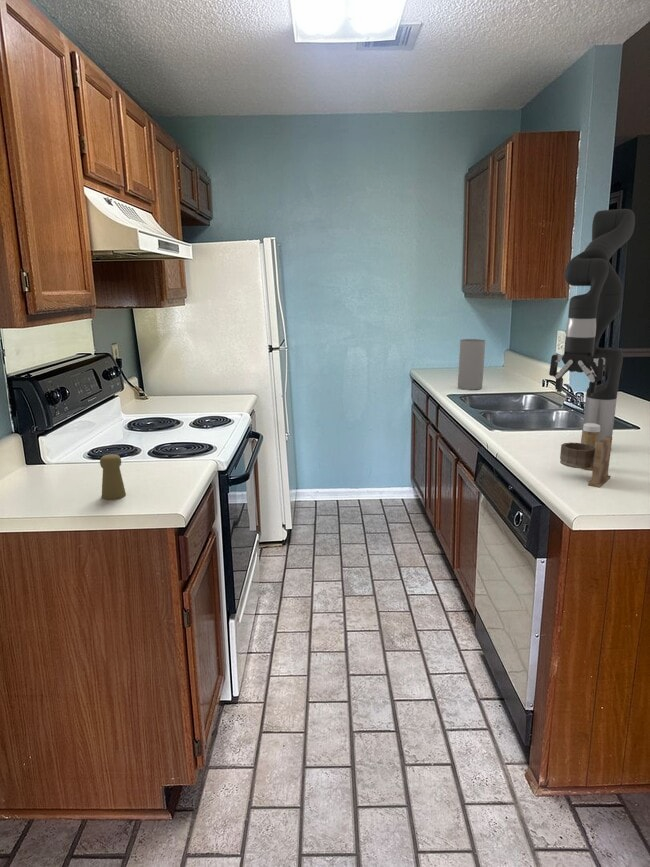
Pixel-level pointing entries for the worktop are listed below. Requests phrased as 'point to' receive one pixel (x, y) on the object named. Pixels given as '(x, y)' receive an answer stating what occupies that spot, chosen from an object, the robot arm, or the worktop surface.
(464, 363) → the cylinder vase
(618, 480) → the worktop surface
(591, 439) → the sprinkles bottle
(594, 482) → the bracket
